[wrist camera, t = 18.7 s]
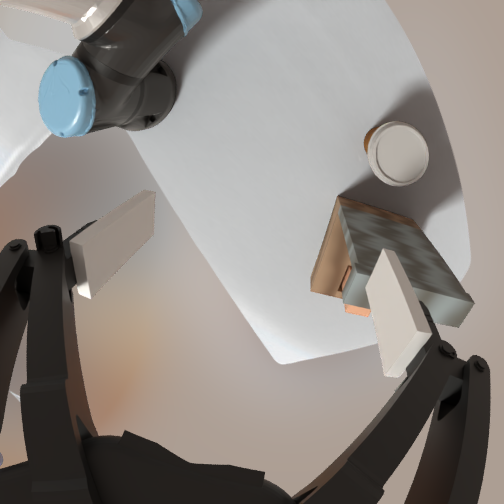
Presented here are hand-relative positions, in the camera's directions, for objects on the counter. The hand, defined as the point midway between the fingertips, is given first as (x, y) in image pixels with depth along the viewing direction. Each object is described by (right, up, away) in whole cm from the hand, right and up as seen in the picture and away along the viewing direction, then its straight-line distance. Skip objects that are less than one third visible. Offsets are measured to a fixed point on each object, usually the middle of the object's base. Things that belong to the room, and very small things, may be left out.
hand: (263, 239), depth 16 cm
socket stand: (+21, 0, +38) cm, 44 cm away
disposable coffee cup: (+22, +18, +28) cm, 40 cm away
